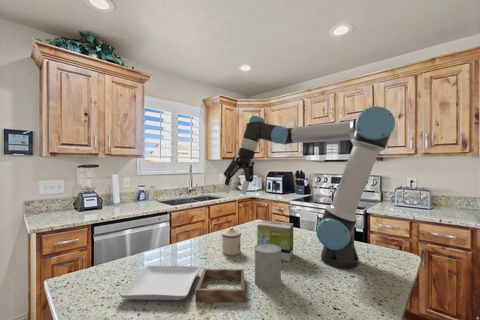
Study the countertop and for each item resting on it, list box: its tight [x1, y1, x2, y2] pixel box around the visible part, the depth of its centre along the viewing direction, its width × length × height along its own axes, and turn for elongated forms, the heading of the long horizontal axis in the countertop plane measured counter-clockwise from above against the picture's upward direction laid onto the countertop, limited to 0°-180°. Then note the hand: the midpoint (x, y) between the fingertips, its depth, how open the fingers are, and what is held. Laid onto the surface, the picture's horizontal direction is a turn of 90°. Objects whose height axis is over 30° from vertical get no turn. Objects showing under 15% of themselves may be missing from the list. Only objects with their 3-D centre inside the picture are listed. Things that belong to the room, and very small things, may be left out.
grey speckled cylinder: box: [254, 243, 282, 290], centre depth 86 cm, size 10×10×12 cm
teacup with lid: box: [221, 227, 242, 256], centre depth 116 cm, size 12×9×12 cm
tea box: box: [256, 219, 294, 262], centre depth 111 cm, size 15×10×15 cm, turn 68°
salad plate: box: [119, 265, 201, 301], centre depth 82 cm, size 21×21×3 cm
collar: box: [195, 268, 245, 303], centre depth 81 cm, size 15×15×4 cm
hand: (234, 193), depth 111 cm, fingers open, 13 cm apart
